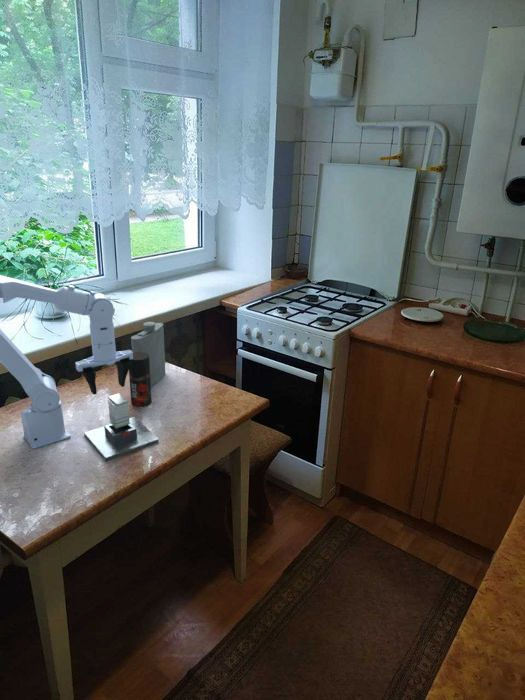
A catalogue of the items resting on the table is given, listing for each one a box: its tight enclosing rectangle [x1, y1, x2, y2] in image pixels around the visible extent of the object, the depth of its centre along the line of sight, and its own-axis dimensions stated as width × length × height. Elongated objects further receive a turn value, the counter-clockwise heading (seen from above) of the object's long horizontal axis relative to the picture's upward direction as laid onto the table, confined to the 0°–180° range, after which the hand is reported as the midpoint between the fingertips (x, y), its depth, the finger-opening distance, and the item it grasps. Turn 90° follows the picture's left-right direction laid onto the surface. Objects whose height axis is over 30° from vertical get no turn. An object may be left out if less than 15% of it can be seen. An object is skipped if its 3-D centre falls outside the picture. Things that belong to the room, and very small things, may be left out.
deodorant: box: [128, 352, 153, 409], centre depth 143 cm, size 6×6×15 cm
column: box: [107, 393, 130, 428], centre depth 124 cm, size 4×5×7 cm
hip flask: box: [130, 321, 167, 388], centre depth 155 cm, size 16×4×20 cm, turn 161°
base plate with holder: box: [83, 416, 160, 462], centre depth 127 cm, size 14×14×4 cm
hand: (108, 389), depth 131 cm, fingers open, 7 cm apart
